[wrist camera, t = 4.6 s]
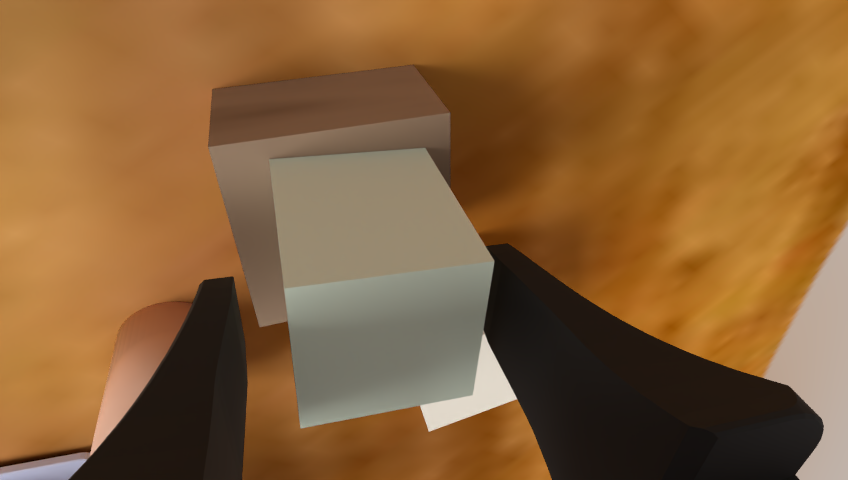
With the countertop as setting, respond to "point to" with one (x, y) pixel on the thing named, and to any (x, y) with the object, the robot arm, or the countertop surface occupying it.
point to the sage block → (377, 283)
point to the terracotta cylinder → (137, 360)
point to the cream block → (486, 393)
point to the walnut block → (310, 149)
